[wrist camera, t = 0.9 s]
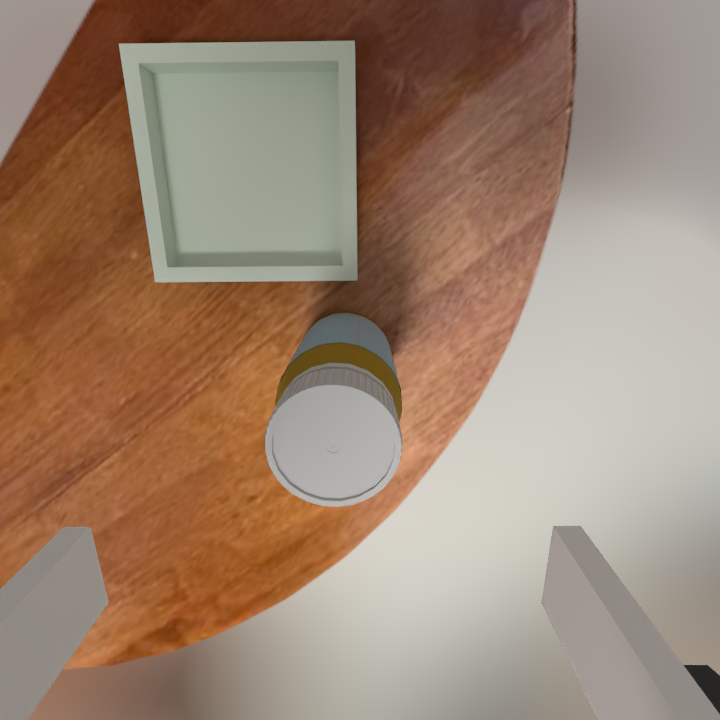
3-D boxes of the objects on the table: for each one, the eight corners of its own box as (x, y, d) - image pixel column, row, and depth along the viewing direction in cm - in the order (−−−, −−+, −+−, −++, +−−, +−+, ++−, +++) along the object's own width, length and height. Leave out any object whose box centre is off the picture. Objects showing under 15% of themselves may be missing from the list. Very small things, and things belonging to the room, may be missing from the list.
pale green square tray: (171, 278, 31) (155, 282, 29) (140, 60, 27) (118, 43, 25) (357, 277, 31) (357, 280, 29) (355, 57, 27) (354, 40, 24)
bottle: (310, 301, 32) (266, 359, 17) (399, 321, 32) (430, 392, 18) (294, 385, 34) (244, 499, 19) (379, 402, 34) (391, 527, 20)
